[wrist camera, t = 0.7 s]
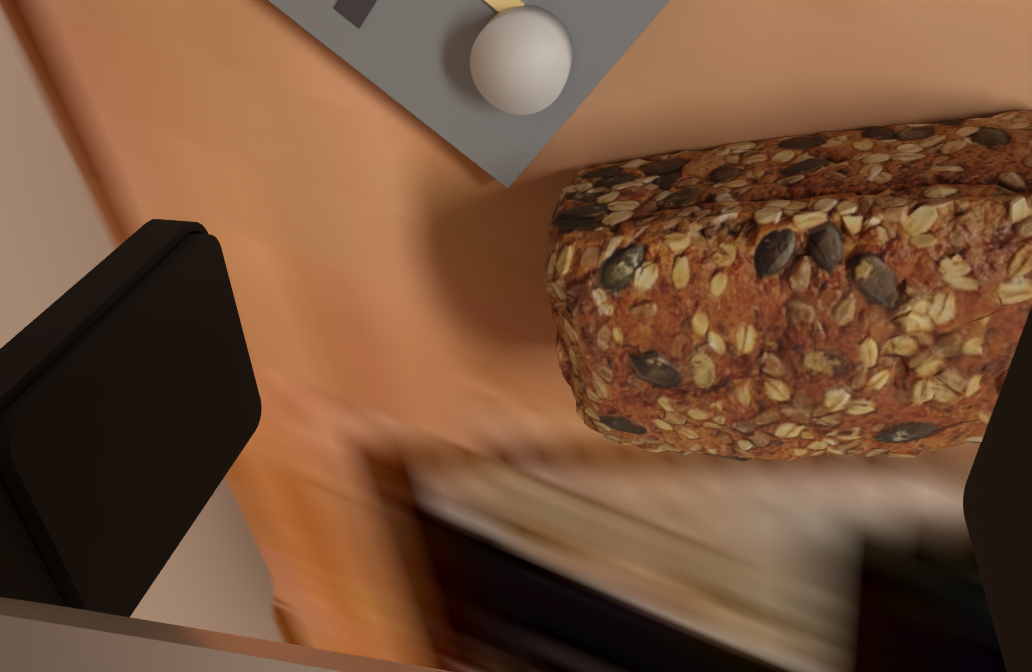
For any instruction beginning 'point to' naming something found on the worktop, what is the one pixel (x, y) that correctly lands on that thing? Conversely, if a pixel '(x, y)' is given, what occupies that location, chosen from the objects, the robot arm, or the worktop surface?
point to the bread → (798, 290)
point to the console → (481, 62)
